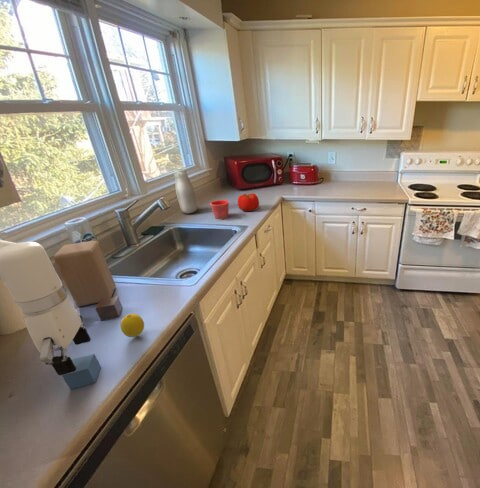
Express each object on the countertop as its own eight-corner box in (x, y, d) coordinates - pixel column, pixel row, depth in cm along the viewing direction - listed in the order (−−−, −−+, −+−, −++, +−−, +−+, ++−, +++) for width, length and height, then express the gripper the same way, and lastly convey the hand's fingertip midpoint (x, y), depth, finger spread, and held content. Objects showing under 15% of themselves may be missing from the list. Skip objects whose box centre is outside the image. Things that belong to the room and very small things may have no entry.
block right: (101, 321, 89) (95, 308, 87) (105, 311, 94) (100, 299, 91) (119, 317, 91) (114, 304, 89) (122, 308, 95) (118, 296, 93)
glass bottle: (189, 209, 189) (179, 167, 177) (201, 211, 186) (192, 168, 174) (178, 214, 181) (167, 170, 169) (190, 216, 178) (180, 171, 165)
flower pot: (225, 213, 182) (223, 198, 178) (234, 217, 175) (231, 202, 171) (210, 217, 176) (207, 202, 171) (218, 221, 169) (215, 206, 164)
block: (76, 308, 95) (50, 256, 87) (85, 292, 103) (62, 244, 95) (111, 300, 99) (90, 250, 90) (117, 286, 107) (98, 238, 98)
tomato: (257, 205, 196) (255, 191, 191) (261, 211, 185) (259, 195, 180) (237, 208, 191) (235, 193, 186) (240, 214, 180) (238, 198, 176)
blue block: (70, 389, 67) (61, 375, 65) (78, 373, 72) (70, 359, 69) (95, 382, 69) (87, 368, 67) (101, 367, 73) (94, 353, 71)
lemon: (133, 329, 86) (125, 308, 82) (151, 329, 86) (143, 308, 82) (121, 342, 81) (112, 321, 77) (140, 343, 81) (131, 321, 77)
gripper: (40, 281, 66) (71, 336, 73) (-5, 330, 51) (38, 392, 59) (79, 275, 68) (105, 328, 76) (46, 319, 54) (82, 380, 61)
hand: (76, 356), depth 67 cm, fingers open, 9 cm apart
